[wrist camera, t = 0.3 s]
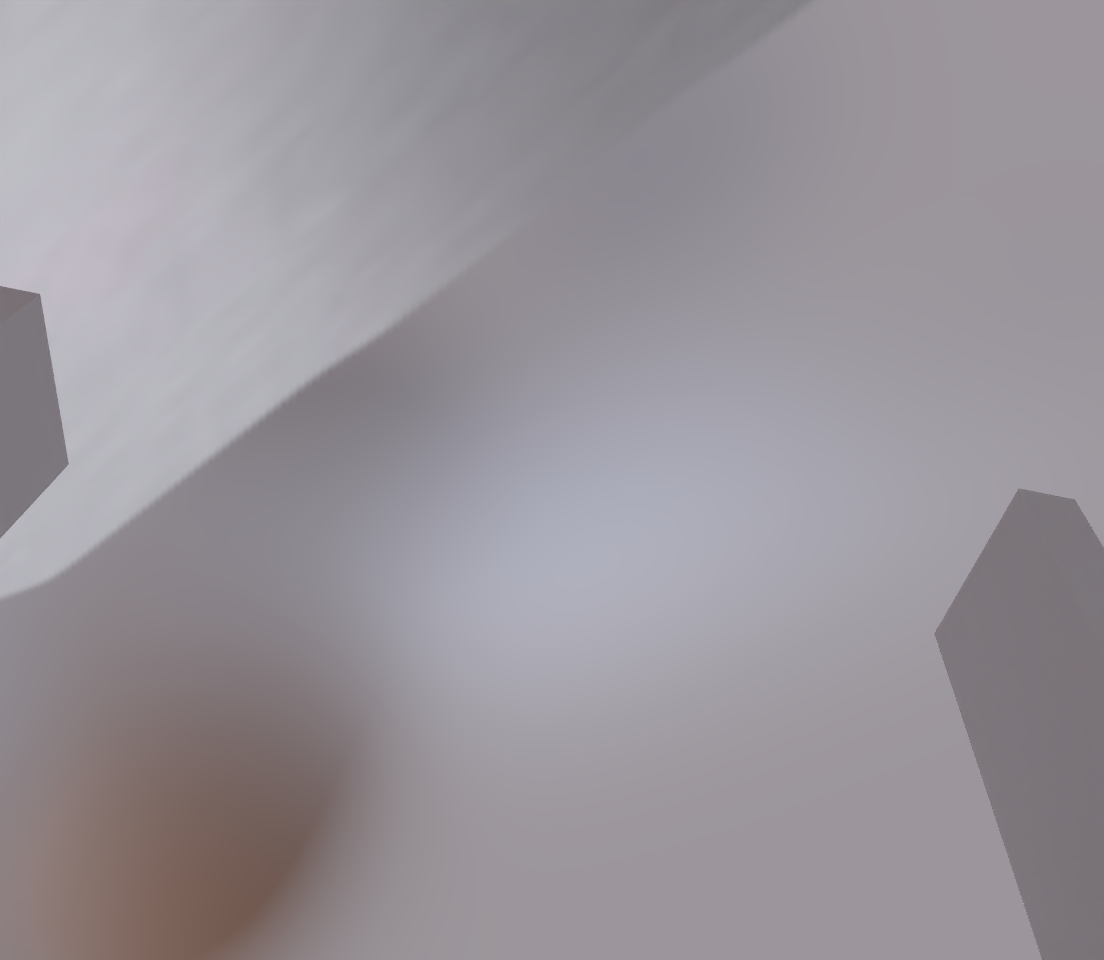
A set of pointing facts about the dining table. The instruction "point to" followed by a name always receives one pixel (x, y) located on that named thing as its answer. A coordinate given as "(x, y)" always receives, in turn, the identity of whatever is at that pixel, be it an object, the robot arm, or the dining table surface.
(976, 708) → the robot arm
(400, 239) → the dining table surface
